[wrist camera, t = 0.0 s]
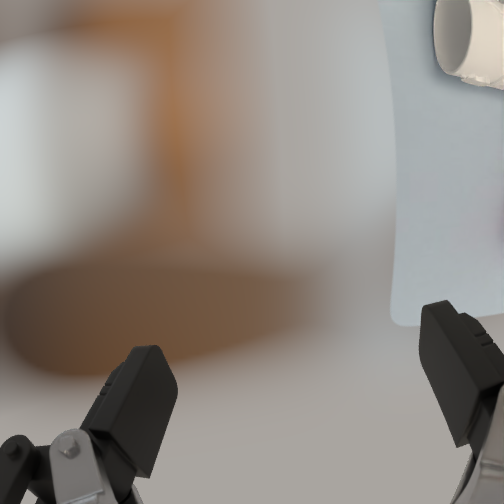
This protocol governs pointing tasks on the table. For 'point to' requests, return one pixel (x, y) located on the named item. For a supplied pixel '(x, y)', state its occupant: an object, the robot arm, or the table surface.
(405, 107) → the table surface
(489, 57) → the mug
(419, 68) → the table surface
